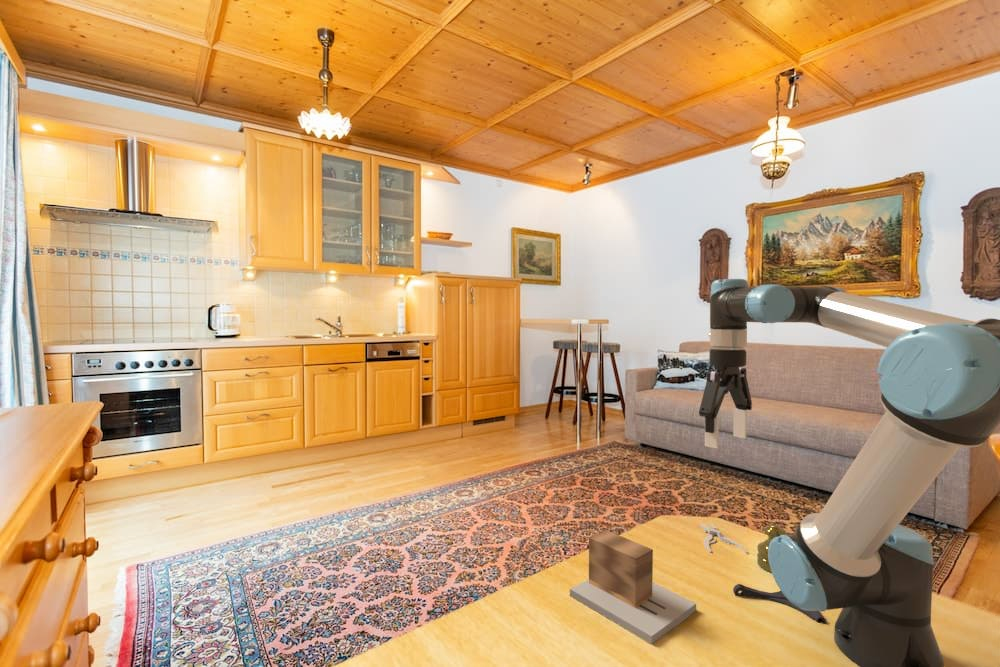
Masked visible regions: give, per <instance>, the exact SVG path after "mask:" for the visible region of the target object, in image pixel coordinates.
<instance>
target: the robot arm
mask: <svg viewBox="0 0 1000 667" xmlns="http://www.w3.org/2000/svg"><path fill="white" fill-rule="evenodd" d="M748 323H761V324H775V323H807V324H809V323H810V324H814V325H817V326H820V327H823V328H825V329H826V328H827V329H830V330H832V331H835V332H839V333H842V334H844V335H848V336H851V337H854V338H858V339H860V340H864V341H866V342H870V343H873V344H876V345H879V346H882V347H884V348H885V350H884V351H883V353H882V355H881V357H880V359H879V362H878V367H877V375H880V378H881V379H878V382H877V383H878V386H879V388H880V391H881V394H880V397H879V400H880V403H881V406H882V407H883V409H884V414H883V415H882V416H881V418H880V420H879V422H878V423H877V425H875V428H874V429H873V431H872V433H871V434H870V435H869V437H868V438H867V440H866V441H865V443H864V445H863V446H862V447H861V449H860V450H859V452H858V454H857V455H856V457H855V458H854V460H853V462H852V463H851V465H850V467H849V468H848V469H847V471H846V473H845V474H844V475H843V477H842V478H841V480H840V482H839V483H838V485H837V486H836V488H835V489H834V491H833V493H832V494H831V495H830V497H829V498H828V500H827V502H826V503H825V505H824V506H823V507H822V509H821V511H820V512H813V513H809V514H807V515H806V516H805V517H803V518H802V520H801V522H800V523H799V525H798V526H797V528H795V531H794V532H793V533H791V534H789V535H788V534H787V535H781V536H779V537H775V538H773V539H772V540H771V542H770V544H769V548H768V560H769V564H770V568H771V572H770V573H771V574H772V577H773V580H774V581H775V583H776V585H777V586H778V589H780V590H779V591H781V592H782V593H783V594H784V596H785V597H786V598H787V599H788V600H789V601H790V602H791V603H792V604H793V605H795V606H796V607H799V608H800V609H802V610H806V611H819V612H825V611H830V610H839V609H841V611H840V613H839V614H838V617H837V619H836V621H835V624H834V630H833V631H834V632H833V634H834V635H833V638H834V642H835V644H836V646H837V647H838V649H839V650H840V651H841V652H842V653H843V655H844V656H846V657H847V658H848V659H850V660H851V661H852V662H853V663H855V664H857V665H859V667H944V666H945V665H944V664H945V663H944V659H943V655H942V652H941V650H940V647H939V644H938V641H937V638H936V635H935V632H934V630H933V628H932V624H931V623H932V622H931V621H932V597H933V574H934V565H935V561H934V556H933V555H934V554H933V552H934V551H933V546H932V544H931V542H930V541H929V540H928V538H926V536H924V535H923V534H921V533H919V532H917V531H915V530H913V529H910V528H908V527H907V526H906V527H905V526H903V525H900V523H901V522H903V520H904V518H905V517H906V516H907V515H908V513H909V512H910V511H911V509H912V508H913V507H915V506H914V505H915V504H916V503H917V502H918V501H919V499H920V498H921V497H922V496H923V494H924V493H925V492H926V491H927V490H928V489H929V487H930V486H931V484H932V483H933V482H934V481H935V479H936V478H937V476H939V474H941V472H942V471H943V469H944V468H945V467H946V466H947V465H948V464H949V462H950V460H951V459H952V458H953V457H954V456H955V454H956V453H957V452H958V451H959V450H960V448H976V447H980V446H982V445H983V444H984V443H985V442H986V441H987V439H988V438H989V437H990V436H991V435H992V434H993V433H994V432H995V430H997V428H998V427H999V425H1000V319H997V318H991V317H989V318H988V317H987V318H982V319H980V320H978V321H973V320H969V319H965V318H960V317H955V316H951V315H947V314H942V313H937V312H933V311H929V310H925V309H920V308H917V307H911V306H907V305H902V304H899V303H898V304H897V303H893V302H889V301H884V300H880V299H876V298H871V297H866V296H862V295H858V294H854V293H849V292H846V290H845V289H843V288H841V287H838V286H832V285H831V286H830V285H820V286H819V285H818V286H817V285H816V286H815V285H814V286H808V285H806V286H802V285H801V286H799V285H797V286H796V285H783V284H775V283H773V284H772V283H771V284H767V283H766V284H761V285H752V286H749V285H748V281H747V280H746V279H744V278H724V279H715V280H713V282H712V283H711V285H710V296H709V325H710V326H709V328H710V329H709V330H710V332H709V333H708V337H709V346H711V348H710V350H709V357H708V358H709V365H710V366H713V367H715V371H712V370H711V371H710V370H708V371H707V374H706V382H705V387H704V391H703V394H702V398H701V403H700V407H699V410H698V414H699V416H700V417H704V447H707V448H712V449H719V434H720V433H719V432H720V431H719V429H720V428H719V427H720V426H719V424H720V423H719V422H720V420H719V419H720V418H719V417H717V416H718V414H719V412H720V409H721V406H722V404H723V401H724V398H725V397H726V394H727V393H729V394H730V396H731V400H732V401H733V403H734V406H735V408H733V423H732V424H733V426H732V427H733V430H732V431H733V432H732V433H733V434H732V436H733V437H736V438H740V439H747V433H748V432H747V428H748V425H747V424H748V423H747V422H748V411H752V409H753V408H752V407H753V406H752V405H753V402H752V397H751V391H750V387H749V382H748V379H747V369H746V367H745V366H746V365H747V351H746V349H745V348H746V347H747V346H748V326H747V325H748Z"/></svg>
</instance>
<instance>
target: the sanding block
mask: <svg viewBox="0 0 1000 667" xmlns="http://www.w3.org/2000/svg"><path fill="white" fill-rule="evenodd" d="M653 551H654V550H653V548H650V547H648V546H645V545H643V544H640V543H638V542H636V541H633V540H631V539H629V538H626V537H623V536H621V535H619V534H617V533H615V532H612V531H609V530H608V529H606V530H605V529H604V530H603V531H600V532H598V533H596V534H594V535H592V536H590V537H588V579H589V583H591V584H593V585H594V586H596V587H598V588H600V589H602V590H604V591H606V592H607V593H609V594H611V595H613V596H615V597H617V598H618V599H620V600H622V601H624V602H626V603H628V604H630V605H631V606H633V607H635V608H636V607H637V606H639V605H640V604H642V603H643V602H645V601H646V600H648V599H649V598H651V597H652V582H653V568H654V566H653V564H654V560H653V557H654V555H653V554H654V552H653Z"/></svg>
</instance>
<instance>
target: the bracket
mask: <svg viewBox="0 0 1000 667" xmlns="http://www.w3.org/2000/svg"><path fill="white" fill-rule="evenodd" d="M732 590H733V594H734V596H735V597H742V598H744V597H745V598H751V599H754V598H755V599H763V600H770V601H774V602H776V603H780V604H783V605H786V606H788V607H790V608H792V609H795V610H796V611H798V612H799V613H802V614H803V615H806V616H807V618H810V619H811V620H812V621H815V622H817V623H819V620H820V621H822V623H824V624H826V622H827V621H826V618H825V617H824V616H823V615H822V613H821V611H806V610H802V609H800V608H799V607H796V606H795V605H793V604H792V603H791V602H790V601H789V600H788V599H787V598H786V597H785V596H784V594H783V593H782V592H781V590H779V591H775V592H773V591H772V592H767V591H763V590H758V589H755V588H752V587H750V586H746V585H743V584H742V583H737V584H735V585H734V586H733V587H732Z"/></svg>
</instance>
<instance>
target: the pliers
mask: <svg viewBox="0 0 1000 667" xmlns="http://www.w3.org/2000/svg"><path fill="white" fill-rule="evenodd" d="M700 528H701V529H702V531H703V532H705V533H707V535H706V537H704V538H703V546H704V548H705V549H706V550H707V551H708V552H709V553H713V552H712V549H711V547H710V545H713V544H715V543H716V542H717V539H714V540H713V537H716V536H715V535H717V538H718V539H720V542H722V543H724V542H725V543H724V544H727V543H729V544H728V545H731V544H733V545H732V546H735V545H736V546H735V547H737V546H738V547H739V548H738V547H737V548H738V549H740V548H741V549H742V550H743V551H744V554H746V553H748V554H749V551H748V550H747V549H746V548H745V547H744V546H743V544H740V543H739V542H737V541H736V540H734V539H732V538H729V537H726V536H724V534H723V533H722V532H721V531H720V530H719V529H718V528H717V527H716V526H715V524H714V523H711V524H710V527H709V526H708V525H706V524H705V523H703V522H702V523H701V522H700ZM712 540H713V541H712ZM727 541H728V542H727ZM741 549H740V550H741ZM742 550H741V551H742ZM743 551H742V552H743Z"/></svg>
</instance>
